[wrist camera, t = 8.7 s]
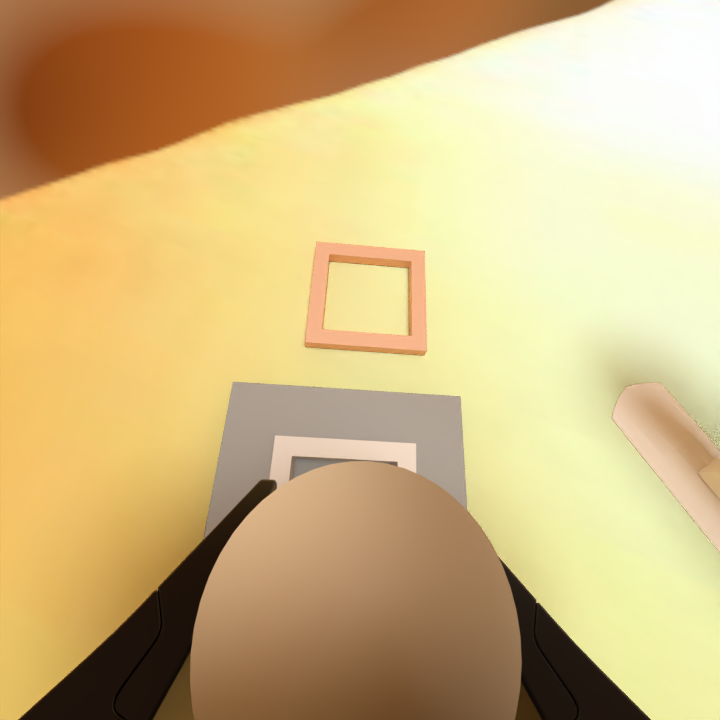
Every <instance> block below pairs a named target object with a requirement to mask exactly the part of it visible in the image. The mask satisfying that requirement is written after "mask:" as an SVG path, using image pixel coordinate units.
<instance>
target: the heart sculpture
mask: <svg viewBox="0 0 720 720" xmlns="http://www.w3.org/2000/svg"><path fill="white" fill-rule="evenodd" d="M612 419H613V421H614V422H615V423H616V424H617V426H618V427H619V428H620V429H621V431H622V432H623V433H624V434H625V436H626V437H627V438H628V439H629V441H630V442H631V443H632V444H633V446H634V447H635V448H636V449H637V450H638V452H639V453H640V454H641V455H642V457H643V458H644V459H645V460H646V462H647V463H648V464H649V465H650V467H651V468H652V469H653V470H654V472H655V473H656V474H657V475H658V477H659V478H660V479H661V480H662V482H663V483H664V484H665V485H666V486H667V488H668V489H669V490H670V491H671V493H672V494H673V495H674V496H675V498H676V499H677V500H678V501H679V503H680V504H681V505H682V506H683V508H684V509H685V510H686V511H687V513H688V514H689V515H690V516H691V518H692V519H693V520H694V521H695V522H696V524H697V525H698V526H699V527H700V529H701V530H702V531H703V532H704V534H705V535H706V536H707V537H708V539H709V540H710V541H711V542H712V544H713V545H714V546H715V547H716V549H717V550H718V551H719V552H720V450H719V449H718V448H717V447H716V445H715V444H714V443H713V442H712V441H711V440H710V439H709V437H708V436H707V435H706V434H705V433H704V432H703V431H702V429H701V428H700V427H699V426H698V425H697V424H696V423H695V421H694V420H693V419H692V418H691V417H690V416H689V415H688V414H687V412H686V411H685V410H684V409H683V408H682V407H681V406H680V404H679V403H678V402H677V401H676V400H675V399H674V398H673V396H672V395H671V394H670V393H669V392H668V391H667V390H666V388H665V387H664V386H663V385H662V384H661V383H641V384H635V385H631V386H628V387H626V388H625V389H624V390H623V392H622V393H621V394H620V396H619V398H618V401H617V403H616V405H615V408H614V412H613V415H612Z"/></svg>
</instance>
